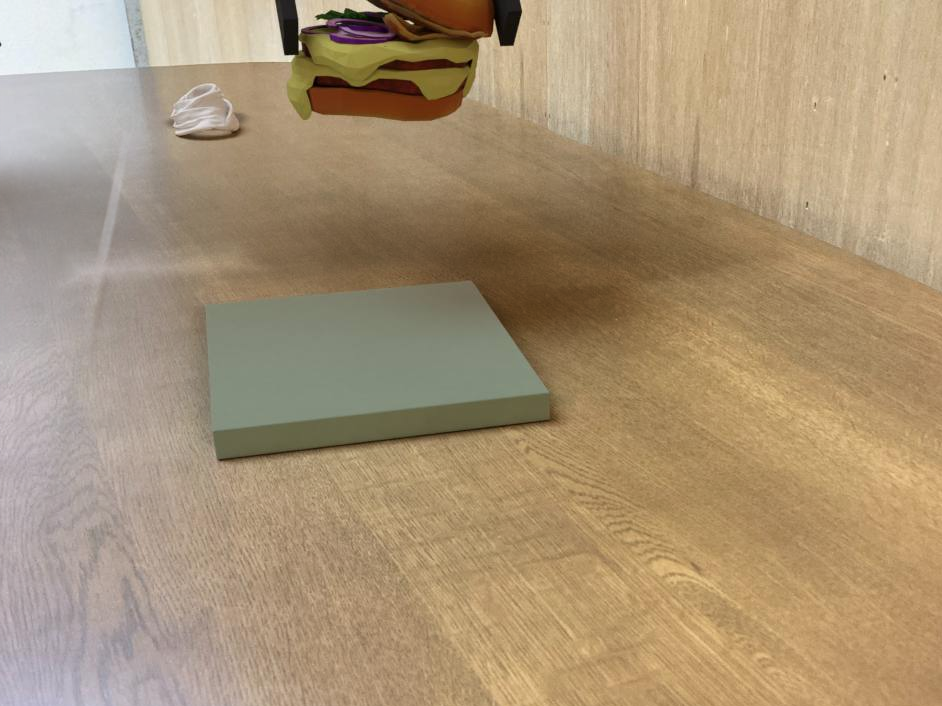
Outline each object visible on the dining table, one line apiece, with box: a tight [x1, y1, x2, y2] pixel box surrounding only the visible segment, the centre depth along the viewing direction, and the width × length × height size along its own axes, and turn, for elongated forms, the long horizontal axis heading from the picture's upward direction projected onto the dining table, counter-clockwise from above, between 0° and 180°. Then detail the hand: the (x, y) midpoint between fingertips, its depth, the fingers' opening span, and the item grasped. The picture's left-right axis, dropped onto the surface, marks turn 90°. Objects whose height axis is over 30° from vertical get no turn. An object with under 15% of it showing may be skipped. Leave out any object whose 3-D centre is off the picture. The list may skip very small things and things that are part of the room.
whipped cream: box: [170, 83, 240, 136], centre depth 116 cm, size 8×7×5 cm
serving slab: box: [204, 280, 551, 460], centre depth 62 cm, size 18×16×2 cm
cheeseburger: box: [286, 0, 495, 122], centre depth 62 cm, size 10×11×10 cm
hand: (403, 33), depth 59 cm, fingers closed on cheeseburger, 11 cm apart
